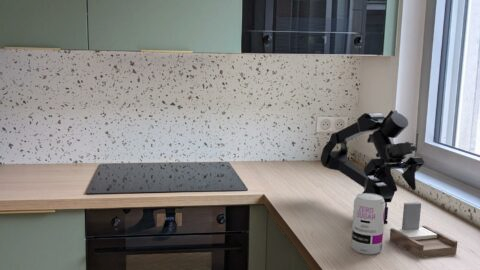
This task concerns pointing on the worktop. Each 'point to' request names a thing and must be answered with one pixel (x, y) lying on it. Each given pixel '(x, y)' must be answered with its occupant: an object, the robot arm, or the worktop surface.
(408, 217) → the lid
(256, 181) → the worktop surface
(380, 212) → the supplement can
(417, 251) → the board
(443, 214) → the worktop surface
